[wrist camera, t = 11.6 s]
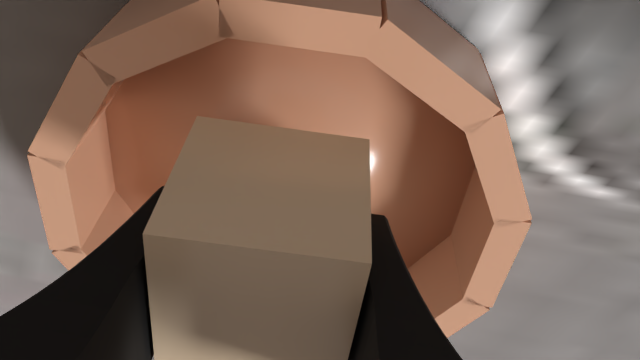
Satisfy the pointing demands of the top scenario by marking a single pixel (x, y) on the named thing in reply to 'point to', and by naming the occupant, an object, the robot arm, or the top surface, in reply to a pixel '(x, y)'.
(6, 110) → the top surface
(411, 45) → the bowl
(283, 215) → the beige cardboard cube
